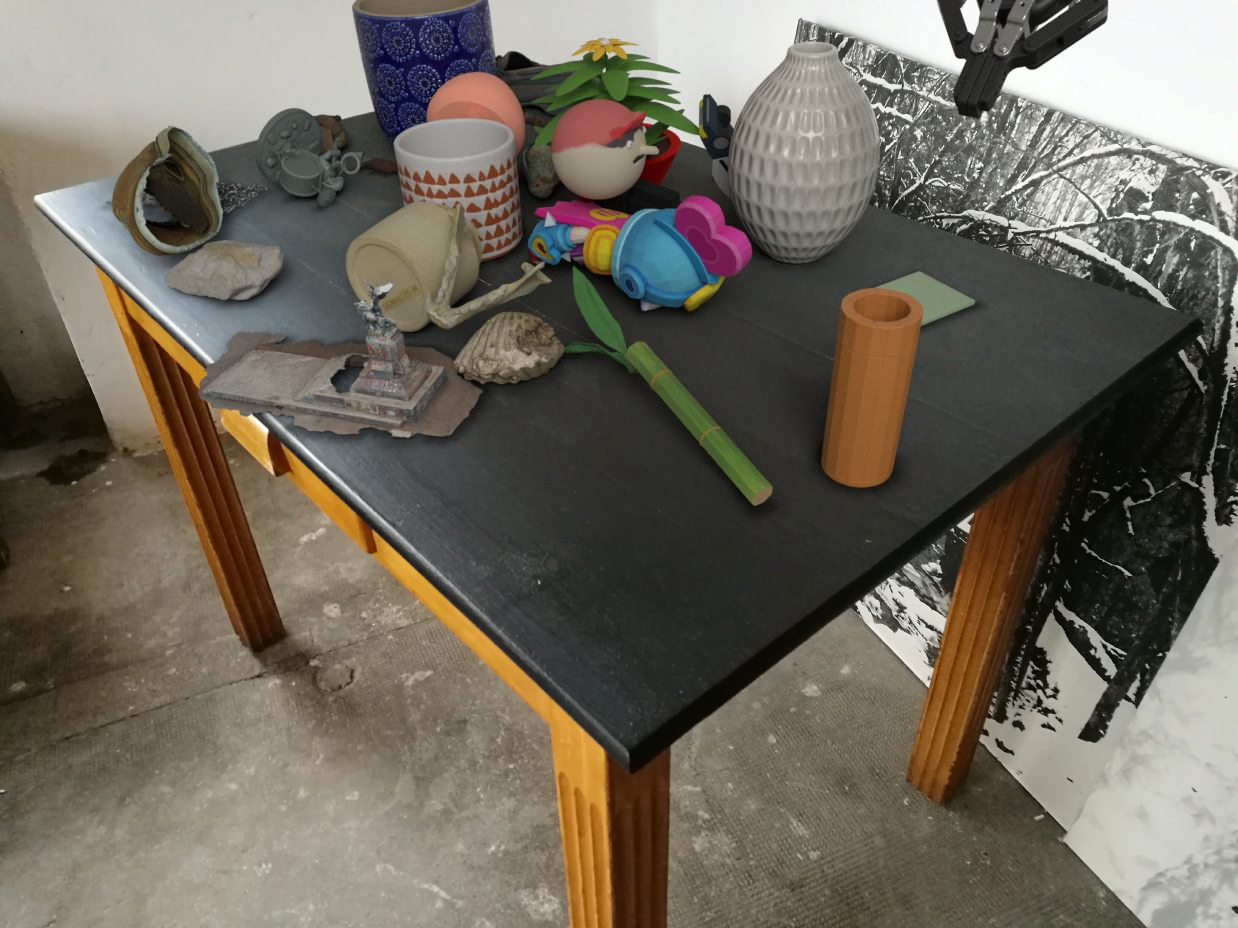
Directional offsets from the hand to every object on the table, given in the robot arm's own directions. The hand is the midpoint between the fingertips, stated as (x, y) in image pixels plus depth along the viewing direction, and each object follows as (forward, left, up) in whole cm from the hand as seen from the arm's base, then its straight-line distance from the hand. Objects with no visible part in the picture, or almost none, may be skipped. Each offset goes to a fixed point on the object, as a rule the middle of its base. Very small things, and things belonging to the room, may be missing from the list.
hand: (967, 111), depth 66 cm
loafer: (-10, -95, -26) cm, 99 cm away
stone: (+43, -62, -23) cm, 78 cm away
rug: (+47, -90, -25) cm, 104 cm away
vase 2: (+20, -54, -26) cm, 63 cm away
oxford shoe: (+47, -76, -19) cm, 91 cm away
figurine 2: (+28, -97, -24) cm, 104 cm away
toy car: (-12, -40, -17) cm, 45 cm away
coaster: (-14, -13, -26) cm, 32 cm away
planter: (+11, -85, -26) cm, 89 cm away
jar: (+10, +4, -26) cm, 28 cm away
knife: (+20, -72, -26) cm, 79 cm away
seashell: (+26, -21, -21) cm, 39 cm away
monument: (+43, -33, -26) cm, 60 cm away
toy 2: (0, -31, -22) cm, 39 cm away
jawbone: (+29, -32, -21) cm, 48 cm away
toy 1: (+8, -38, -18) cm, 43 cm away
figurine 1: (+33, -86, -20) cm, 94 cm away
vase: (-10, -29, -26) cm, 40 cm away
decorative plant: (+20, -11, -26) cm, 34 cm away
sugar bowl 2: (+15, -60, -17) cm, 65 cm away
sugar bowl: (+36, -40, -20) cm, 58 cm away
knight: (+13, -45, -23) cm, 53 cm away
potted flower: (0, -52, -26) cm, 58 cm away
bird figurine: (-4, -74, -19) cm, 77 cm away
